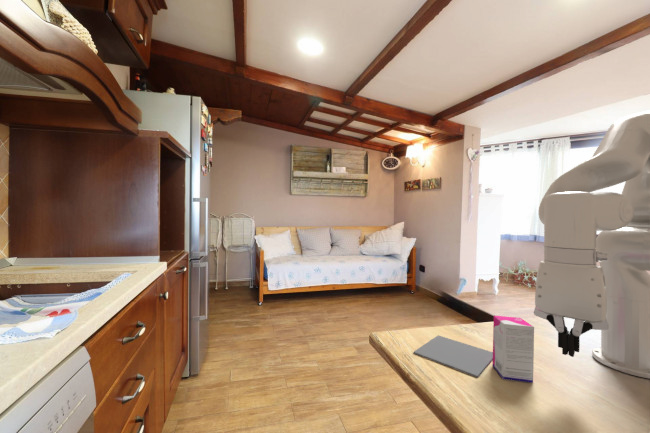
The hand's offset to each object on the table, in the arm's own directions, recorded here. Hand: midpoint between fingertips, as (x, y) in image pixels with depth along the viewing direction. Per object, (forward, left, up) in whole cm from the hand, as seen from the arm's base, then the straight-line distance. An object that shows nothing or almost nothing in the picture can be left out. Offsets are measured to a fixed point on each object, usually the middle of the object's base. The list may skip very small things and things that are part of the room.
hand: (568, 353), depth 53 cm
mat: (+21, 0, -8) cm, 22 cm away
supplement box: (+9, 0, -8) cm, 12 cm away
